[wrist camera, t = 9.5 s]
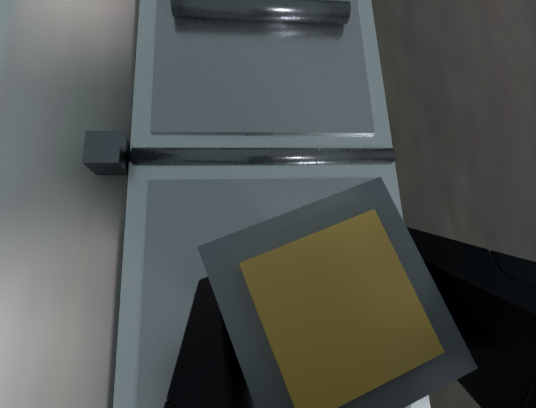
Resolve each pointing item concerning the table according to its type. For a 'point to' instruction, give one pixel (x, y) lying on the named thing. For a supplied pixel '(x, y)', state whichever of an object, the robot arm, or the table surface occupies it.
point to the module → (335, 307)
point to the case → (232, 148)
